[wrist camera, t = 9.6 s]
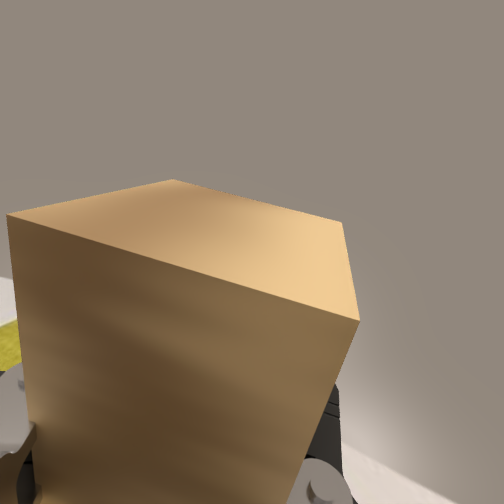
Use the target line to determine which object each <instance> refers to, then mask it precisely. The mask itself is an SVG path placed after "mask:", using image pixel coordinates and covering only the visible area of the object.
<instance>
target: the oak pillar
mask: <svg viewBox="0 0 504 504" xmlns="http://www.w3.org/2000/svg"><path fill="white" fill-rule="evenodd" d="M6 217H7V226H8V236H9V245H10V255H11V263H12V273H13V282H14V292H15V301H16V310H17V320H18V329H19V338H20V347H21V357H22V366H23V375H24V385H25V394H26V403H27V413H28V420H30V421H32V422H35V423H36V433H37V440H36V441H35V443H34V445H33V447H32V449H31V450H32V459H33V468H34V478H35V483H37V484H39V485H41V486H42V496H43V499H42V501H41V503H40V504H286V502H287V500H288V497H289V495H290V492H291V490H292V488H293V485H294V483H295V480H296V478H297V475H298V473H299V470H300V468H301V465H302V463H303V460H304V458H305V455H306V453H307V451H308V448H309V446H310V443H311V441H312V438H313V436H314V433H315V431H316V428H317V426H318V423H319V421H320V419H321V416H322V414H323V411H324V409H325V406H326V404H327V401H328V399H329V396H330V394H331V391H332V389H333V386H334V384H335V381H336V379H337V377H338V374H339V372H340V369H341V366H342V364H343V362H344V359H345V357H346V354H347V352H348V349H349V347H350V345H351V342H352V340H353V337H354V334H355V332H356V330H357V327H358V325H359V322H360V318H359V312H358V307H357V302H356V296H355V291H354V286H353V281H352V275H351V270H350V264H349V259H348V254H347V248H346V243H345V238H344V233H343V227H342V223H341V222H338V221H334V220H330V219H326V218H322V217H318V216H314V215H311V214H307V213H302V212H299V211H295V210H291V209H287V208H283V207H279V206H275V205H271V204H268V203H264V202H260V201H255V200H252V199H248V198H244V197H240V196H236V195H232V194H229V193H225V192H221V191H217V190H213V189H209V188H205V187H201V186H197V185H193V184H190V183H185V182H181V181H178V180H173V179H172V180H168V181H162V182H158V183H153V184H148V185H143V186H139V187H134V188H129V189H125V190H119V191H115V192H110V193H105V194H101V195H95V196H91V197H86V198H81V199H77V200H72V201H68V202H62V203H57V204H53V205H48V206H43V207H39V208H33V209H29V210H24V211H19V212H14V213H10V214H6Z"/></svg>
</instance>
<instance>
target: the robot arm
mask: <svg viewBox="0 0 504 504" xmlns="http://www.w3.org/2000/svg"><path fill="white" fill-rule="evenodd" d="M339 418H340V412H339V391H338V389H337V386H336V384H334V386H333V389H332V391H331V394H330V396H329V399H328V401H327V404H326V406H325V409H324V411H323V414H322V416H321V419H320V421H319V423H318V426H317V428H316V431H315V433H314V436H313V438H312V441H311V443H310V446H309V448H308V451H307V453H306V455H305V458H304V460H303V463H302V465H301V468H300V470H299V473H298V475H297V478H296V480H295V483H294V485H293V488H292V490H291V492H290V495H289V497H288V500H287V502H286V504H358V503H357V502H356V501H355V499H354V498H353V496H352V495H351V492H350V489H349V487H348V485H347V483H346V481H345V479H344V477H343V471H342V454H341V432H340V420H339ZM36 440H37V433H36V423H35V422H32V421H30V420H28V413H27V403H26V394H25V385H24V375H23V366H22V362H21V363H19V364H17V365H15V366H13V367H11V368H10V369H8V370H7V371H0V504H40V503H41V501H42V499H43V496H42V486H41V485H39V484H37V483H35V478H34V468H33V459H32V450H31V449H32V447H33V445H34V443H35V441H36Z"/></svg>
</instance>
